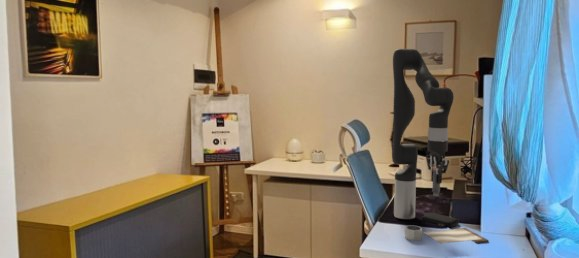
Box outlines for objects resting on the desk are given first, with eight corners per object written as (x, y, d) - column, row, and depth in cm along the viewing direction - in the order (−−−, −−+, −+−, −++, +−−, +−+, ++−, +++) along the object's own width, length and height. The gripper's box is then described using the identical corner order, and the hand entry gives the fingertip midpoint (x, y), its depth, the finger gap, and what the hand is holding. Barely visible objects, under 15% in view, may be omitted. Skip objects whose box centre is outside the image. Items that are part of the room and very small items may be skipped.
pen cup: (402, 238, 181) (402, 226, 180) (416, 237, 182) (416, 224, 181) (409, 243, 175) (410, 231, 174) (424, 242, 176) (424, 229, 175)
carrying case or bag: (417, 222, 201) (448, 231, 190) (417, 216, 201) (448, 223, 190) (430, 217, 208) (460, 225, 197) (430, 211, 208) (461, 218, 197)
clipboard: (416, 233, 186) (416, 231, 186) (465, 229, 191) (465, 227, 190) (436, 247, 171) (436, 244, 171) (488, 242, 176) (488, 239, 176)
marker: (430, 195, 183) (431, 165, 182) (437, 194, 184) (438, 165, 182) (434, 196, 180) (435, 166, 179) (441, 196, 181) (442, 166, 180)
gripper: (420, 137, 185) (418, 179, 187) (438, 141, 172) (437, 187, 174) (436, 136, 187) (435, 178, 189) (456, 141, 173) (455, 186, 175)
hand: (436, 182), depth 181 cm, fingers closed on marker, 2 cm apart
